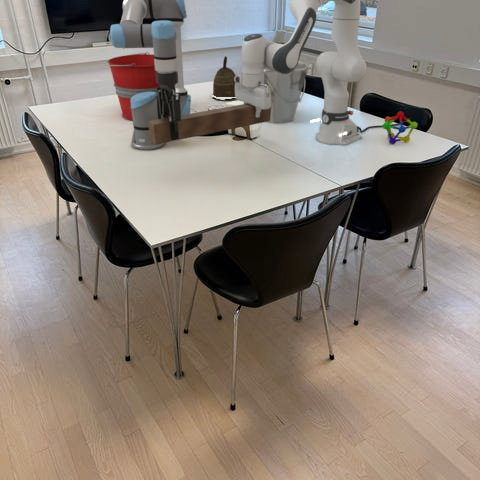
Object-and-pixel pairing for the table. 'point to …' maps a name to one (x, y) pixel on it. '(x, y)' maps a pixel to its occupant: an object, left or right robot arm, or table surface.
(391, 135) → the educational toy
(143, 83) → the bucket
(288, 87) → the bucket
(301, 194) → the table surface
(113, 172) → the table surface
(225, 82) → the bell
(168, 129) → the beam
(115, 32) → the left robot arm
